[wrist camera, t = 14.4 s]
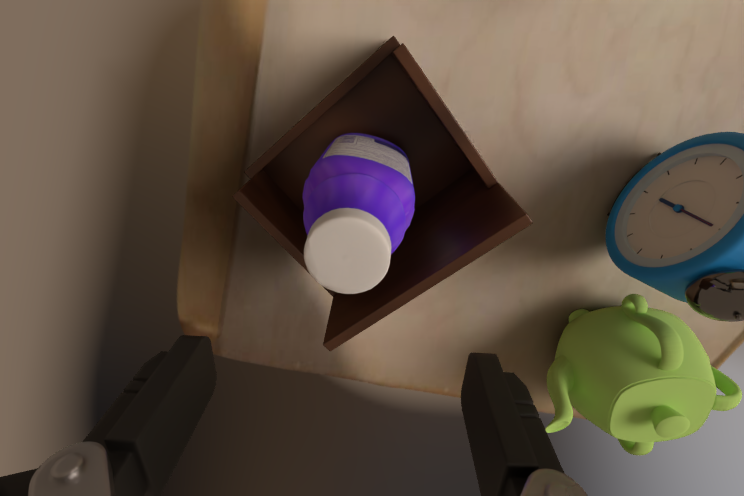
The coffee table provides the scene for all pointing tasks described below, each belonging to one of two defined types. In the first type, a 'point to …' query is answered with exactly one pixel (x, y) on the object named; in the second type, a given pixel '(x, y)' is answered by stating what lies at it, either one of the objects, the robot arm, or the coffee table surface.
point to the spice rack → (429, 175)
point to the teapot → (635, 375)
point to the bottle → (356, 211)
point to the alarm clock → (686, 225)
